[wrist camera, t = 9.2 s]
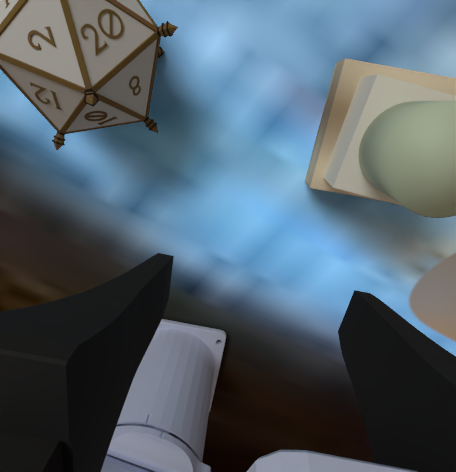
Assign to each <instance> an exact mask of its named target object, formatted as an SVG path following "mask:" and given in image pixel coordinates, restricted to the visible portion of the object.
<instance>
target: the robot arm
mask: <svg viewBox="0 0 456 472" xmlns="http://www.w3.org/2000/svg"><path fill="white" fill-rule="evenodd" d="M172 265H173V256H170V255H165V254H160V253H158V254H156V255H154V256H153V257H151V258H149V259H148V260H146V261H145V262H143V263H141V264H140V265H138V266H136V267H135V268H133V269H131V270H130V271H128V272H126V273H124V274H122V275H120V276H118V277H116V278H114V279H113V280H111V281H109V282H106V283H104V284H102V285H100V286H97V287H95V288H92V289H90V290H87V291H85V292H82V293H79V294H76V295H72V296H69V297H66V298H63V299H59V300H56V301H52V302H48V303H44V304H40V305H35V306H31V307H26V308H20V309H15V310H8V311H1V312H0V472H210V471H211V467H210V466H208V465H206V464H204V463H202V459H203V452H204V444H205V437H206V429H207V422H208V414H209V412H210V409H211V405H212V400H213V396H214V391H215V386H216V382H217V377H218V373H219V368H220V364H221V359H222V355H223V350H224V346H225V341H226V333H225V332H224V331H223V330H218V329H213V328H208V327H202V326H197V325H191V324H186V323H181V322H175V321H170V320H164V319H162V317H163V314H164V311H165V308H166V305H167V302H168V298H169V290H170V282H171V273H172ZM338 333H339V340H340V345H341V350H342V355H343V358H344V361H345V364H346V367H347V370H348V373H349V376H350V379H351V382H352V385H353V387H354V390H355V393H356V396H357V399H358V402H359V405H360V408H361V411H362V414H363V417H364V421H365V425H366V429H367V433H368V438H369V442H370V446H371V451H372V456H373V461H374V463H370V462H365V461H360V460H354V459H349V458H344V457H338V456H333V455H328V454H322V453H317V452H312V451H306V450H279V451H276V452H273V453H270V454H268V455H265V456H262V457H260V458H258V459H257V460H256V461H255V462H254V464H253V465H252V466H251V467H250V468H249V470H248V471H247V472H456V356H454V355H452V354H451V353H449V352H448V351H446V350H445V349H443V348H442V347H441V346H439V345H438V344H436V343H435V342H434V341H432V340H431V339H430V338H428V337H427V336H425V335H424V334H423V333H421V332H420V331H419V330H417V329H416V328H415V327H414V326H412V325H411V324H410V323H408V322H407V321H406V320H405V319H403V318H402V317H401V316H400V315H398V314H397V313H396V312H395V311H393V310H392V309H391V308H390V307H388V306H387V305H386V304H385V303H383V302H382V301H381V300H379V299H378V298H376V297H375V296H373V295H372V294H370V293H365V292H360V291H354V293H353V296H352V298H351V301H350V303H349V306H348V308H347V311H346V313H345V316H344V318H343V321H342V323H341V325H340V328H339V330H338ZM217 340H221V342H218V341H217Z"/></svg>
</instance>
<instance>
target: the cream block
mask: <svg viewBox="0 0 456 472" xmlns="http://www.w3.org/2000/svg"><path fill="white" fill-rule="evenodd" d="M410 101H456V96H455V95H451V94H448V93H444V92H440V91H437V90H433V89H430V88H426V87H423V86H419V85H415V84H412V83H408V82H405V81H401V80H398V79H394V78H391V77H387V76H383V75H380V74H375V75H370V76H366V77H362V78H360V80H359V83H358V85H357V88H356V91H355V93H354V96H353V99H352V101H351V104H350V107H349V109H348V112H347V115H346V117H345V120H344V123H343V125H342V128H341V131H340V133H339V136H338V139H337V141H336V144H335V147H334V150H333V152H332V155H331V158H330V160H329V163H328V166H327V168H326V171H325V174H324V176H323V178H324V179H325V180H326V181H327V182H328V183H329V184H330V185H331V186H332V187H333V188H337V189H341V190H344V191H348V192H352V193H356V194H359V195H363V196H367V197H371V198H374V199H378V200H382V201H386V202H389V203H393V204H397V205H401V204H400V203H398V202H397V201H395V200H394V199H392V198H391V197H389V196H388V195H386V194H385V193H383V192H382V191H380V190H379V189H377V188H376V187H374V186H373V185H372V184H371V183H369V182H368V181H367V179H366V178H365V177H364V175H363V173H362V171H361V169H360V165H359V158H358V156H359V146H360V143H361V139H362V137H363V135H364V133H365V131H366V129H367V128H368V126H369V125H370V124H371V122H372V121H373V120H374V119H375V118H376V117H377V116H378V115H380V114H381V113H382V112H384V111H385V110H386V109H388V108H390V107H392V106H394V105H397V104H400V103H404V102H410ZM401 206H403V205H401Z"/></svg>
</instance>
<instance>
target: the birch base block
mask: <svg viewBox="0 0 456 472" xmlns="http://www.w3.org/2000/svg"><path fill="white" fill-rule="evenodd" d="M375 74H380V75H383V76H387V77H391V78H394V79H398V80H401V81H405V82H408V83H412V84H415V85H419V86H423V87H426V88H430V89H433V90H437V91H440V92H444V93H448V94H451V95H455V96H456V78H451V77H445V76H440V75H434V74H429V73H423V72H417V71H412V70H406V69H401V68H395V67H390V66H384V65H379V64H373V63H368V62H362V61H356V60H351V59H343V60H341V61H339V62H337V63H336V65H335V69H334V73H333V77H332V80H331V84H330V88H329V92H328V96H327V99H326V103H325V107H324V111H323V114H322V118H321V122H320V126H319V130H318V133H317V137H316V141H315V145H314V149H313V152H312V156H311V160H310V164H309V167H308V171H307V175H306V179H305V182H306V183H307V185H308V186H309V187H310V188H313V189H319V190H324V191H330V192H335V193H341V194H346V195H352V196H358V197H363V198H369V199H374V198H371V197H367V196H363V195H359V194H356V193H352V192H348V191H344V190H341V189H337V188H333V187H332V186H331V185H330V184H329V183H328V182H327V181H326V180H325V179H324V178H323V176H324V174H325V171H326V168H327V166H328V163H329V160H330V158H331V155H332V152H333V150H334V147H335V144H336V141H337V139H338V136H339V133H340V131H341V128H342V125H343V123H344V120H345V117H346V115H347V112H348V109H349V107H350V104H351V101H352V99H353V96H354V93H355V91H356V88H357V85H358V83H359V80H360V78H362V77H366V76H370V75H375ZM374 200H378V199H374ZM380 201H382V200H380Z"/></svg>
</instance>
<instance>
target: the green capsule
mask: <svg viewBox="0 0 456 472" xmlns="http://www.w3.org/2000/svg"><path fill="white" fill-rule="evenodd" d="M358 158H359V165H360V169H361V171H362V173H363V175H364V177H365V178H366V179H367V181H368V182H369V183H371V184H372V185H373V186H374V187H376V188H377V189H379V190H380V191H382V192H383V193H385V194H386V195H388V196H389V197H391V198H392V199H394V200H395V201H397V202H398V203H400V204H401V205H403V206H404V207H406V208H407V209H409V210H410V211H412V212H414V213H416V214H418V215H422V216H425V217H432V218H443V217H450V216H455V215H456V101H410V102H404V103H400V104H397V105H394V106H392V107H390V108H388V109H386V110H385V111H384V112H382V113H381V114H380V115H378V116H377V117H376V118H375V119H374V120H373V121H372V122H371V124H370V125H369V126H368V128H367V129H366V131H365V133H364V135H363V137H362V139H361V143H360V146H359V156H358Z"/></svg>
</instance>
